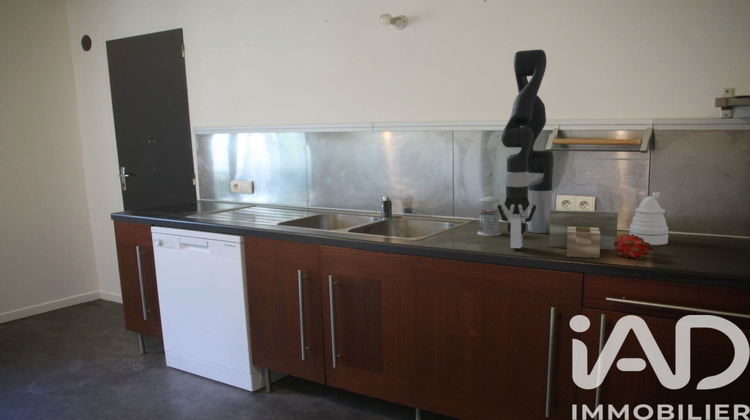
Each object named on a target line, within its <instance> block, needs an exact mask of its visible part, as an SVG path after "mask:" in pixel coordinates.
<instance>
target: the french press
mask: <svg viewBox="0 0 750 420" xmlns="http://www.w3.org/2000/svg"><path fill="white" fill-rule="evenodd" d="M486 175H487V176H489V177H488V178H489V179H488V196H485V197H482V198H480V199H479V204H478V205H476V206H475V208H474V211H473V215H474V219H475V220H477V222H478V223H479V231H478V232H477V235H480V236H485V237H486V236H489V237H490V236H491V237H492V236H493V237H494V236H500V235H502V232H501V231H500V213H498V212H499V210H498V208H490V203H499V202H500V199H498V198H497V197H494V196H491V192H490V191H491V189H490V187H491V186H490V185H491V184H490V182H491V179H490V178H491V176H493V174H492V172H488V173H487V174H486ZM480 202H481V203H485V204H486V203H488V208H483V207H484V206H483V204H480ZM479 208H480V212H481V213H479V217H478V210H479Z"/></svg>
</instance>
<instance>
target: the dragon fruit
mask: <svg viewBox="0 0 750 420" xmlns="http://www.w3.org/2000/svg"><path fill="white" fill-rule="evenodd" d="M613 244H614V246H615V250H613V251H614V252H616V253H619V254H620V253H621V254H622V257H623V258H625V259H627V258H628V257H629V258H633V259H636V260H643V259H645V258H644V257H643V256H649V255H650V252H651V251H654V247H653V245H651V244H650V243H647V242H644V240H643V238H641V237H639V236H638V235H637V236H635V235H634V234H632V235H629V233H623V234H622V235H618V236H617V239H615V242H614V243H613ZM641 256H642V257H641Z"/></svg>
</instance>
